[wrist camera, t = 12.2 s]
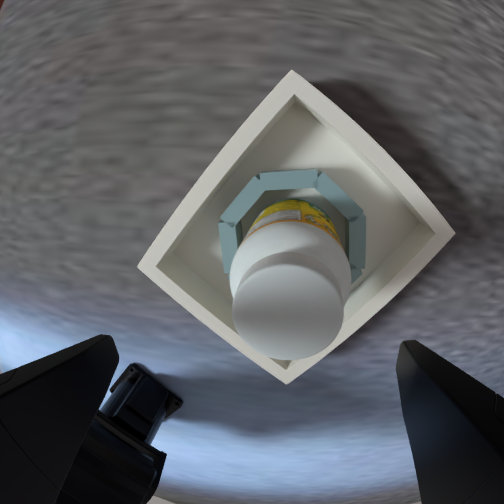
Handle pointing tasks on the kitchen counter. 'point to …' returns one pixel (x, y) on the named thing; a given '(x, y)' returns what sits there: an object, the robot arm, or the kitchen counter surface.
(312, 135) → the socket box
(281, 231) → the supplement bottle
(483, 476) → the robot arm
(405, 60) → the kitchen counter surface
